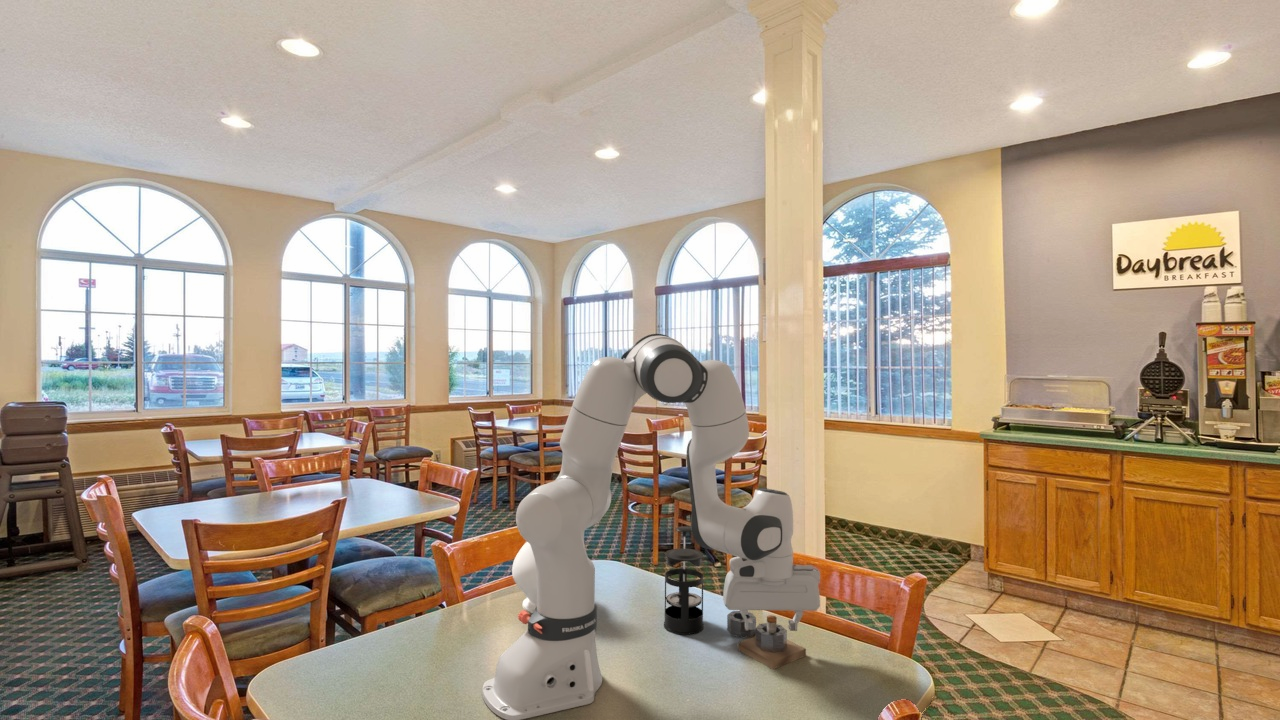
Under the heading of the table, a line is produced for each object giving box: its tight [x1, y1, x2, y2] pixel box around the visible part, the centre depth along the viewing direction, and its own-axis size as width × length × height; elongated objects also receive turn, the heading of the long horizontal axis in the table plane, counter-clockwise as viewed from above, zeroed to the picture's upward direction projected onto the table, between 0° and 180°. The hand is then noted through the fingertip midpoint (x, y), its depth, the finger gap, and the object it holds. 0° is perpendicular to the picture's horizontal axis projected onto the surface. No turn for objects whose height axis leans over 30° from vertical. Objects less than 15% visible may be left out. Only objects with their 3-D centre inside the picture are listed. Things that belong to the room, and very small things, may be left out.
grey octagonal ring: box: [726, 610, 757, 638], centre depth 138 cm, size 6×6×4 cm
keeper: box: [737, 614, 807, 670], centre depth 128 cm, size 10×10×8 cm
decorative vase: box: [511, 541, 537, 614], centre depth 153 cm, size 18×18×25 cm
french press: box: [663, 526, 705, 636], centre depth 141 cm, size 12×9×23 cm
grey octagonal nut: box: [755, 622, 788, 653], centre depth 128 cm, size 6×6×4 cm
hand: (770, 629), depth 128 cm, fingers open, 8 cm apart
